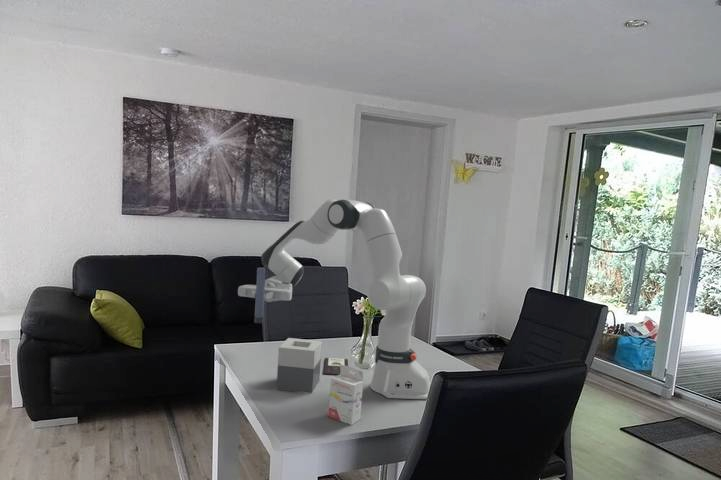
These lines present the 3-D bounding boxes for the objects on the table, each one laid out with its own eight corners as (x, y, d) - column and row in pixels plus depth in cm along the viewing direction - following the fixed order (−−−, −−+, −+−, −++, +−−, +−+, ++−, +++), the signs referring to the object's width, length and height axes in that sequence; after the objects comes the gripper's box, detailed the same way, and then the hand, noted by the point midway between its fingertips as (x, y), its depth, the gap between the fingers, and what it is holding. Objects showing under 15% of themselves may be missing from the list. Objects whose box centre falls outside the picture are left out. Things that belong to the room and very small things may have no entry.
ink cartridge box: (327, 417, 142) (330, 367, 141) (337, 411, 146) (340, 363, 145) (351, 425, 138) (355, 374, 137) (361, 419, 142) (364, 370, 141)
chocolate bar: (323, 373, 177) (325, 357, 195) (323, 375, 177) (325, 360, 195) (348, 374, 178) (347, 359, 196) (347, 377, 178) (347, 361, 196)
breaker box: (319, 380, 171) (321, 341, 170) (312, 393, 159) (314, 351, 158) (286, 376, 172) (288, 337, 171) (276, 389, 161) (278, 347, 160)
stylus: (263, 321, 180) (266, 268, 179) (261, 323, 177) (264, 269, 176) (255, 321, 181) (258, 267, 179) (253, 323, 177) (256, 268, 176)
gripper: (245, 279, 192) (232, 285, 178) (296, 284, 190) (286, 289, 176) (244, 295, 192) (231, 302, 179) (295, 300, 190) (285, 307, 176)
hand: (259, 296), depth 177 cm, fingers closed on stylus, 3 cm apart
